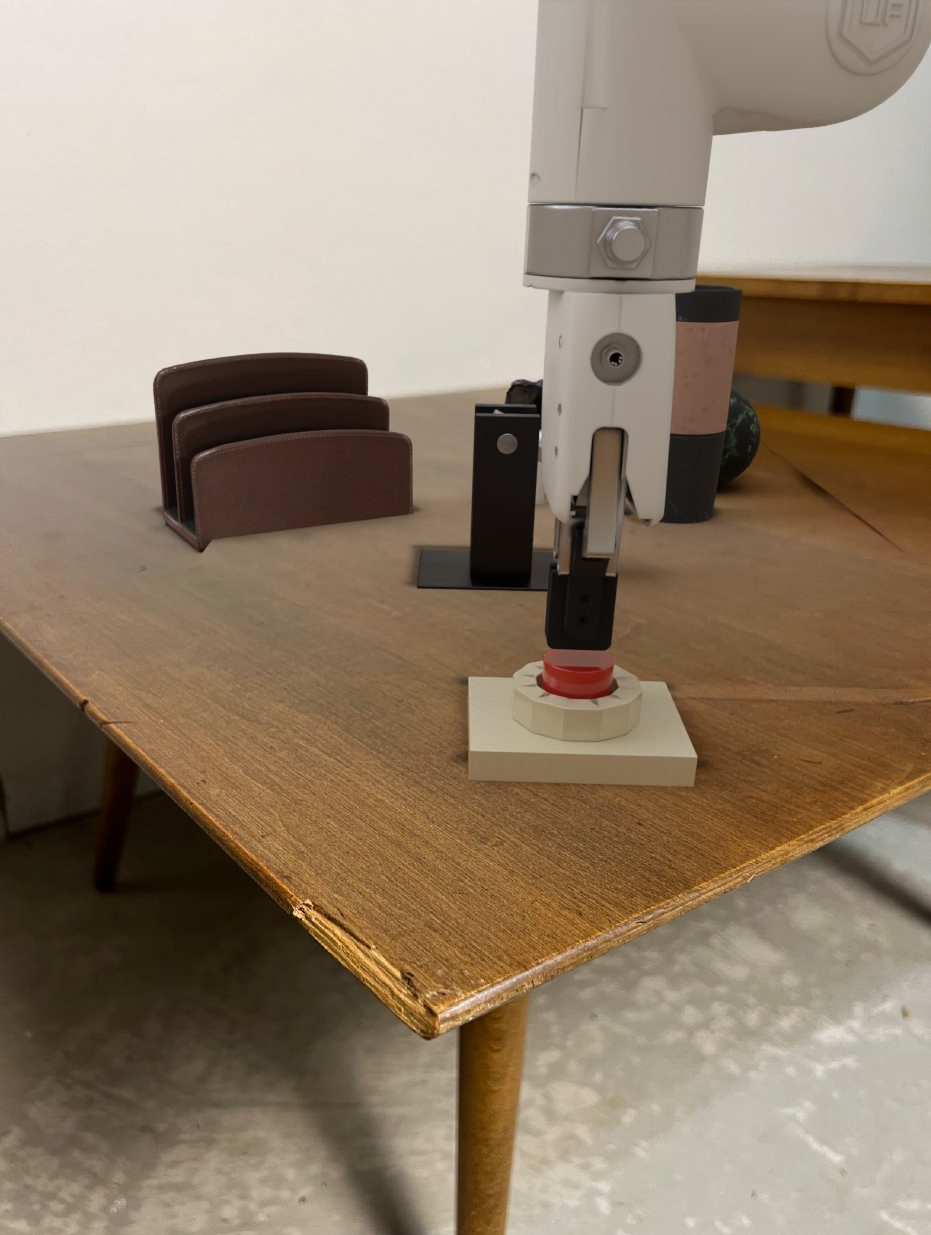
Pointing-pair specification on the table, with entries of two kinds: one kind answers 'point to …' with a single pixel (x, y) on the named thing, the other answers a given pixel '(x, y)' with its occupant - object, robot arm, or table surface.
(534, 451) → the bracket
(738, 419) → the decorative stone
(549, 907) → the table surface
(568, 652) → the button
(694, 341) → the travel mug
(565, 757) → the button block
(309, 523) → the letter holder
